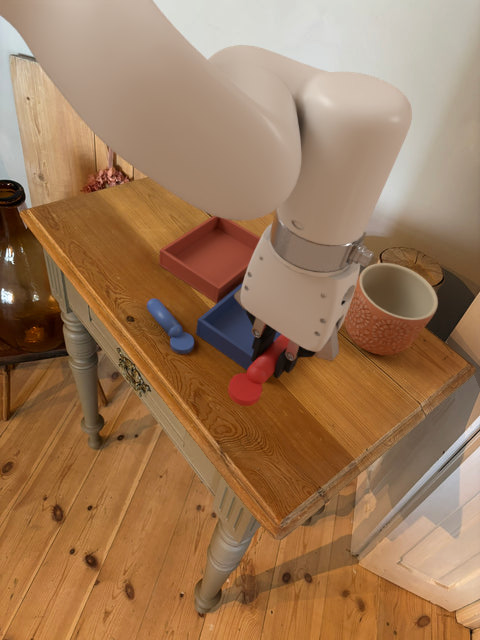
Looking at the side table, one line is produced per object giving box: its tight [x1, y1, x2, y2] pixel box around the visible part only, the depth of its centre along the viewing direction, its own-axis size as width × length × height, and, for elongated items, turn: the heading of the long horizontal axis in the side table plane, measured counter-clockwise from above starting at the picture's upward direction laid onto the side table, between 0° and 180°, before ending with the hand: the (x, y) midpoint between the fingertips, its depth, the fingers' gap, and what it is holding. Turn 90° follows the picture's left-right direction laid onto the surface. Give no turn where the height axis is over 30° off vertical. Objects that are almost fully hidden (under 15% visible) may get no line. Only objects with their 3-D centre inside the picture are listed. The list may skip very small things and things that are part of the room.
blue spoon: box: [146, 297, 195, 355], centre depth 71 cm, size 11×4×2 cm, turn 38°
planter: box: [343, 262, 439, 356], centre depth 74 cm, size 12×12×11 cm
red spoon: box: [227, 334, 289, 407], centre depth 51 cm, size 11×4×2 cm, turn 143°
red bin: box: [158, 215, 261, 304], centre depth 83 cm, size 13×16×4 cm
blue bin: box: [195, 282, 281, 371], centre depth 74 cm, size 13×16×4 cm
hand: (271, 361), depth 53 cm, fingers closed on red spoon, 2 cm apart
